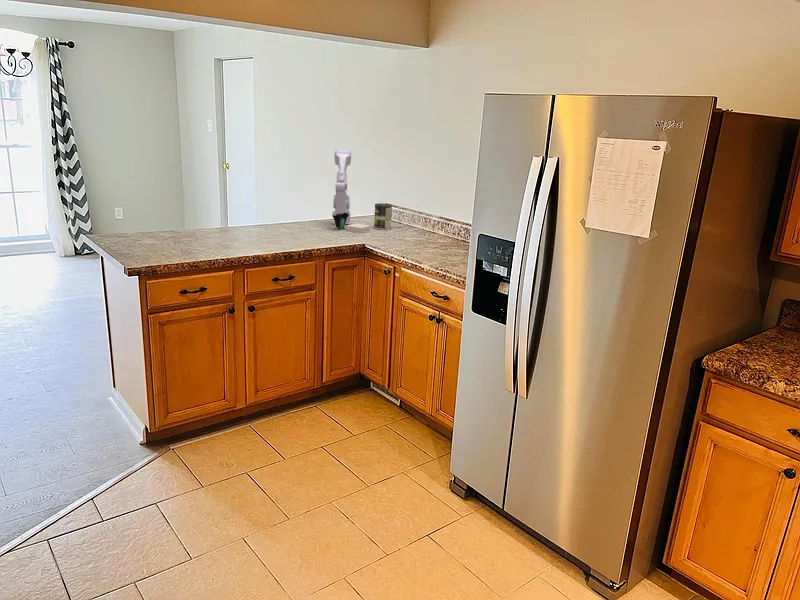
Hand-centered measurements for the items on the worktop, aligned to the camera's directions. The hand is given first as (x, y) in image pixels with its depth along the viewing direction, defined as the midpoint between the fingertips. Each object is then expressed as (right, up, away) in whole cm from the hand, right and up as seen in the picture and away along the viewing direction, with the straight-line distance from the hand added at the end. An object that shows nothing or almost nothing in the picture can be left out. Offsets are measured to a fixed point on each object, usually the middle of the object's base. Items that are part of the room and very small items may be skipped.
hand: (340, 226), depth 355 cm
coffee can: (+24, 0, +10) cm, 26 cm away
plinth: (+11, -3, -3) cm, 11 cm away
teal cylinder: (0, -1, 0) cm, 2 cm away
